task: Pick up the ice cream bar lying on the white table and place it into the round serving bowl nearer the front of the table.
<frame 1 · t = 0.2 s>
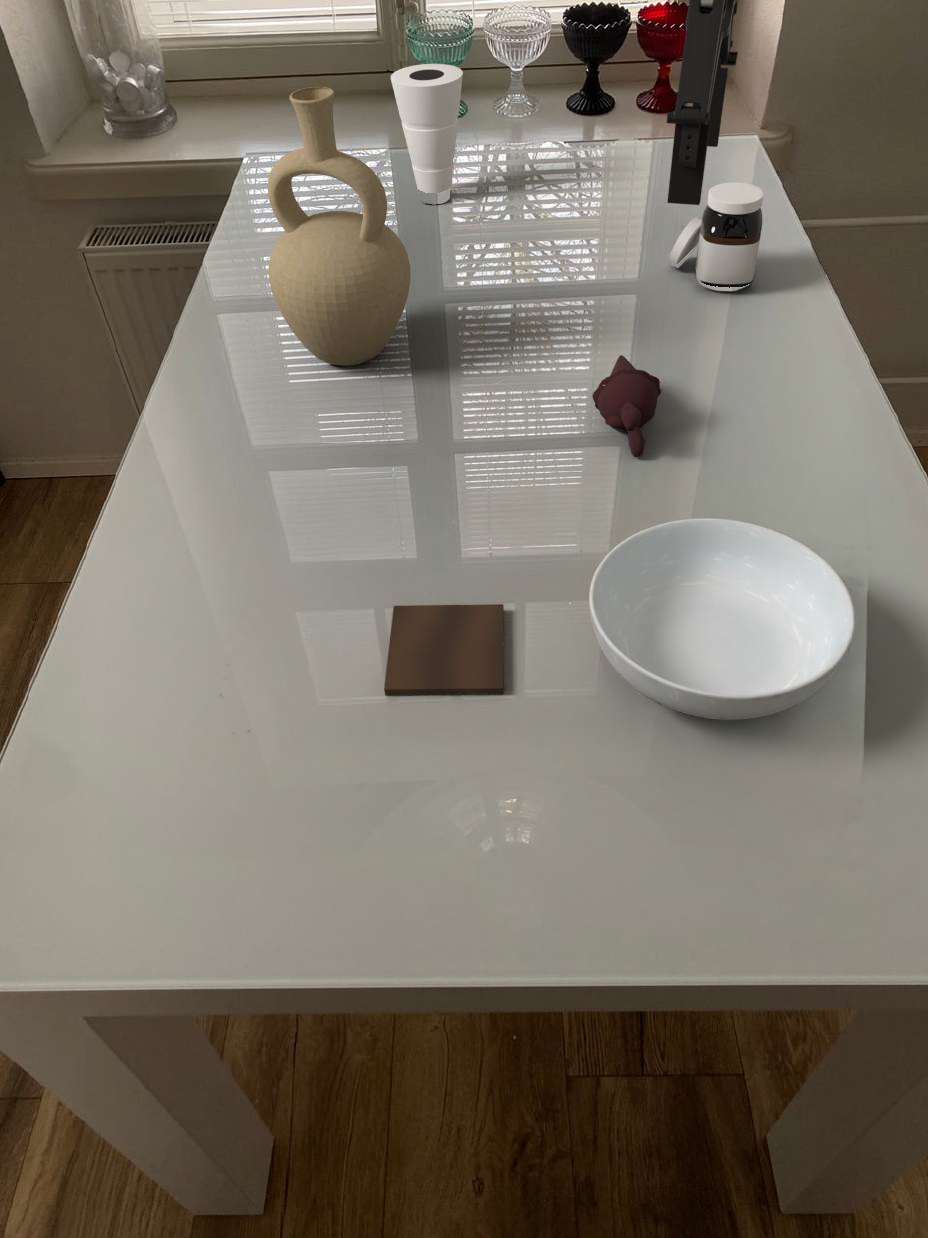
hand: (693, 172, 87), 27 cm above the table, tool pointing down, fingers open, 13 cm apart
spread jar: (708, 277, 130), on the table
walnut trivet: (446, 651, 84), on the table
vase: (352, 354, 121), on the table
serving bowl: (708, 657, 82), on the table
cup: (435, 199, 154), on the table
icecream: (624, 424, 107), on the table
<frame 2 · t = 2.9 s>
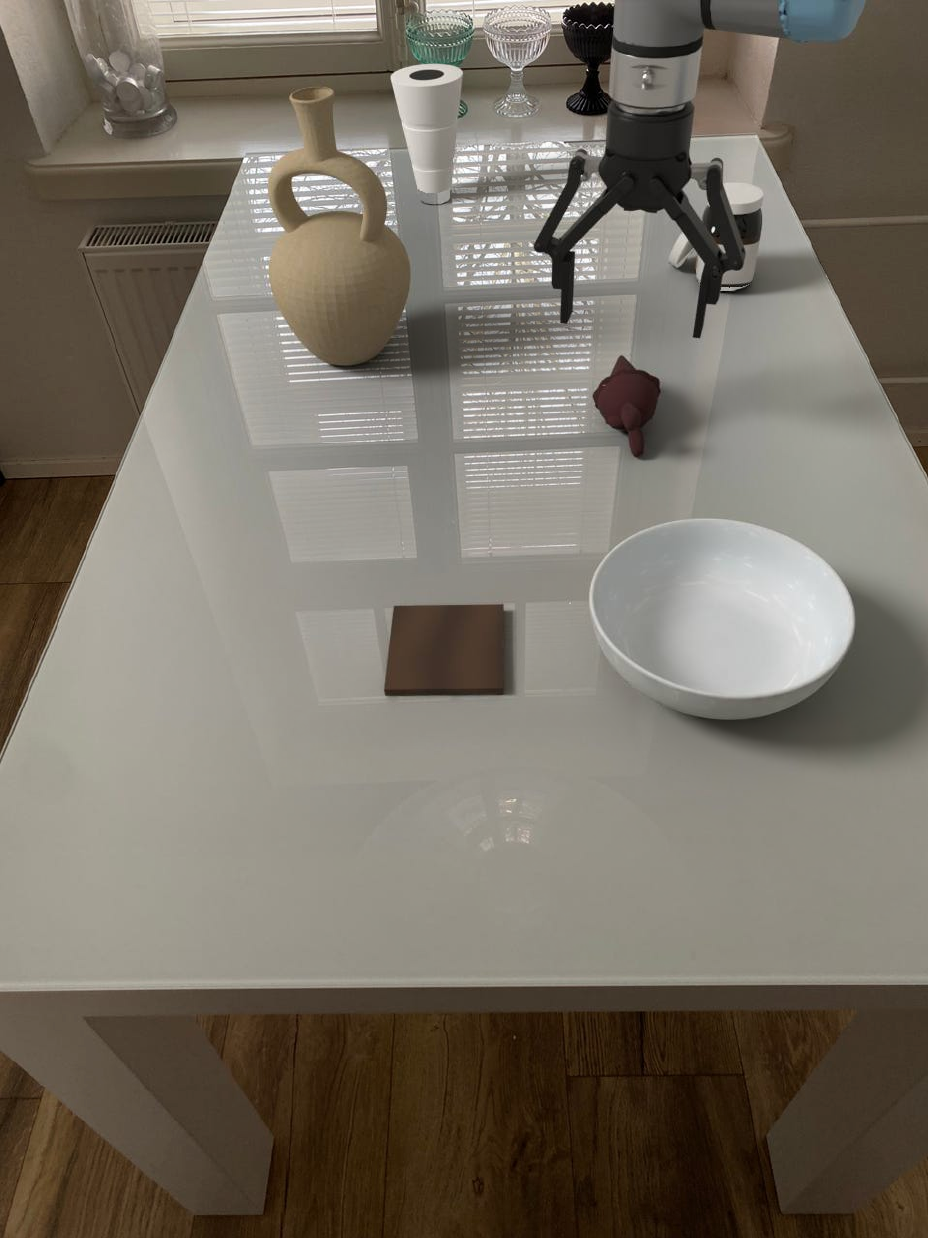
hand: (631, 324, 99), 12 cm above the table, tool pointing down, fingers open, 13 cm apart
nothing on the table moved.
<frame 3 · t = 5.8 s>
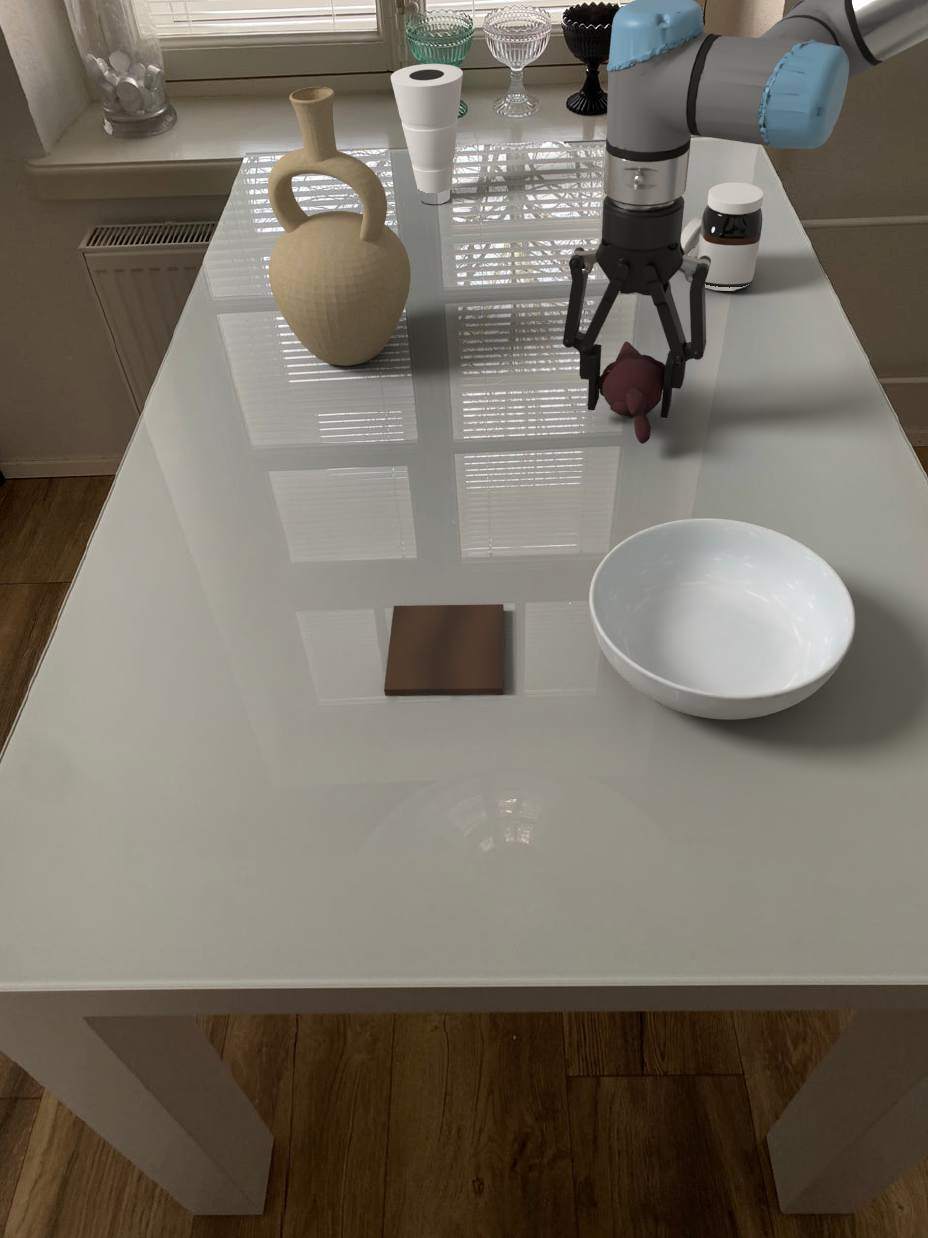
hand: (629, 407, 105), 2 cm above the table, tool pointing down, fingers closed on icecream, 7 cm apart
icecream: (630, 411, 106), point 2 cm above the table, touching gripper
everything else where it was.
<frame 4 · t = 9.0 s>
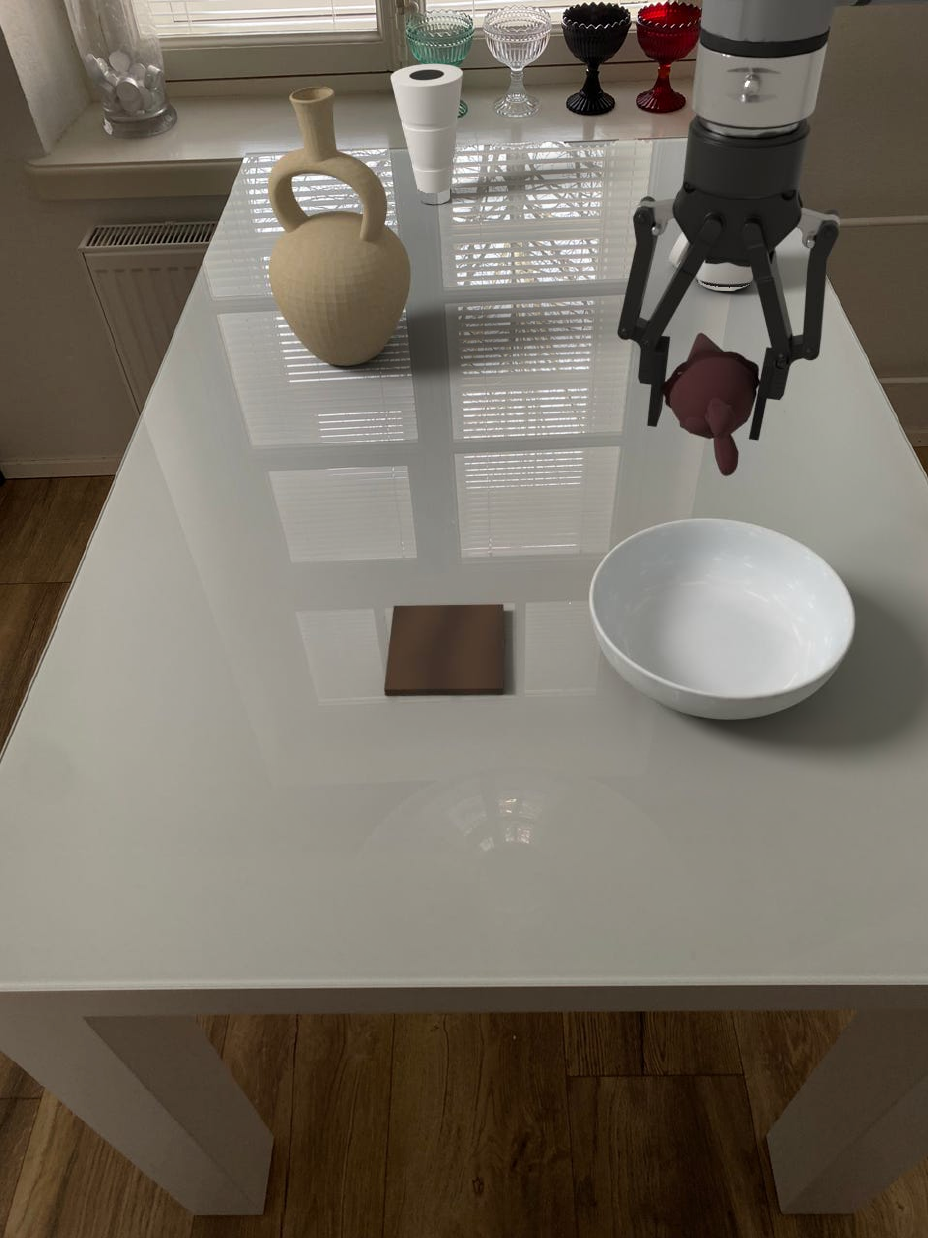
hand: (704, 423, 77), 17 cm above the table, tool pointing down, fingers closed on icecream, 7 cm apart
icecream: (705, 428, 77), point 17 cm above the table, touching gripper
everything else where it was.
when the fingers open (7 cm above the table, at t = 12.2 s): icecream stays where it is, point 7 cm above the table.
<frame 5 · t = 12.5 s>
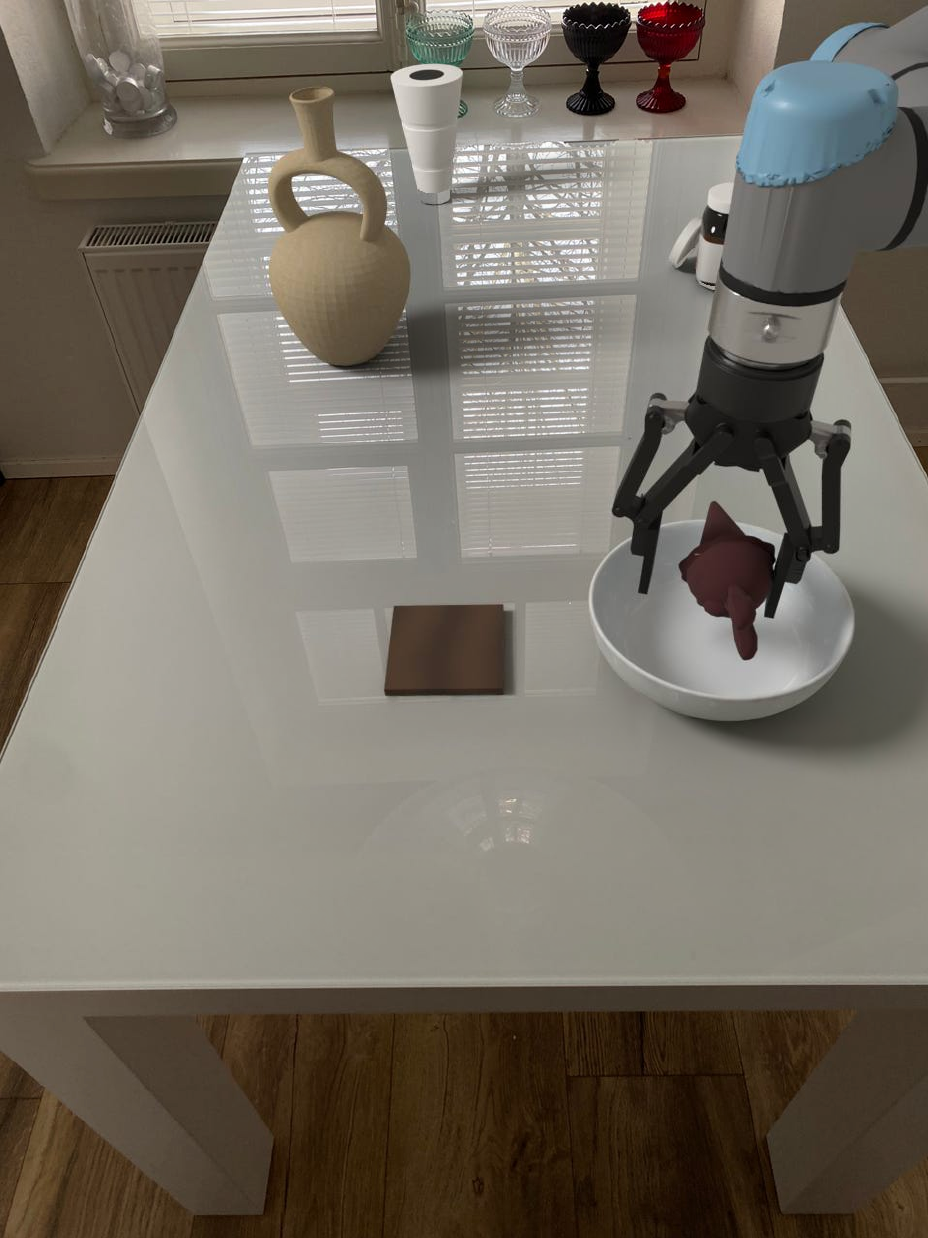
hand: (706, 594, 77), 7 cm above the table, tool pointing down, fingers open, 9 cm apart
serving bowl: (707, 658, 82), on the table, touching gripper
icecream: (721, 601, 77), point 7 cm above the table, touching gripper
everything else where it was.
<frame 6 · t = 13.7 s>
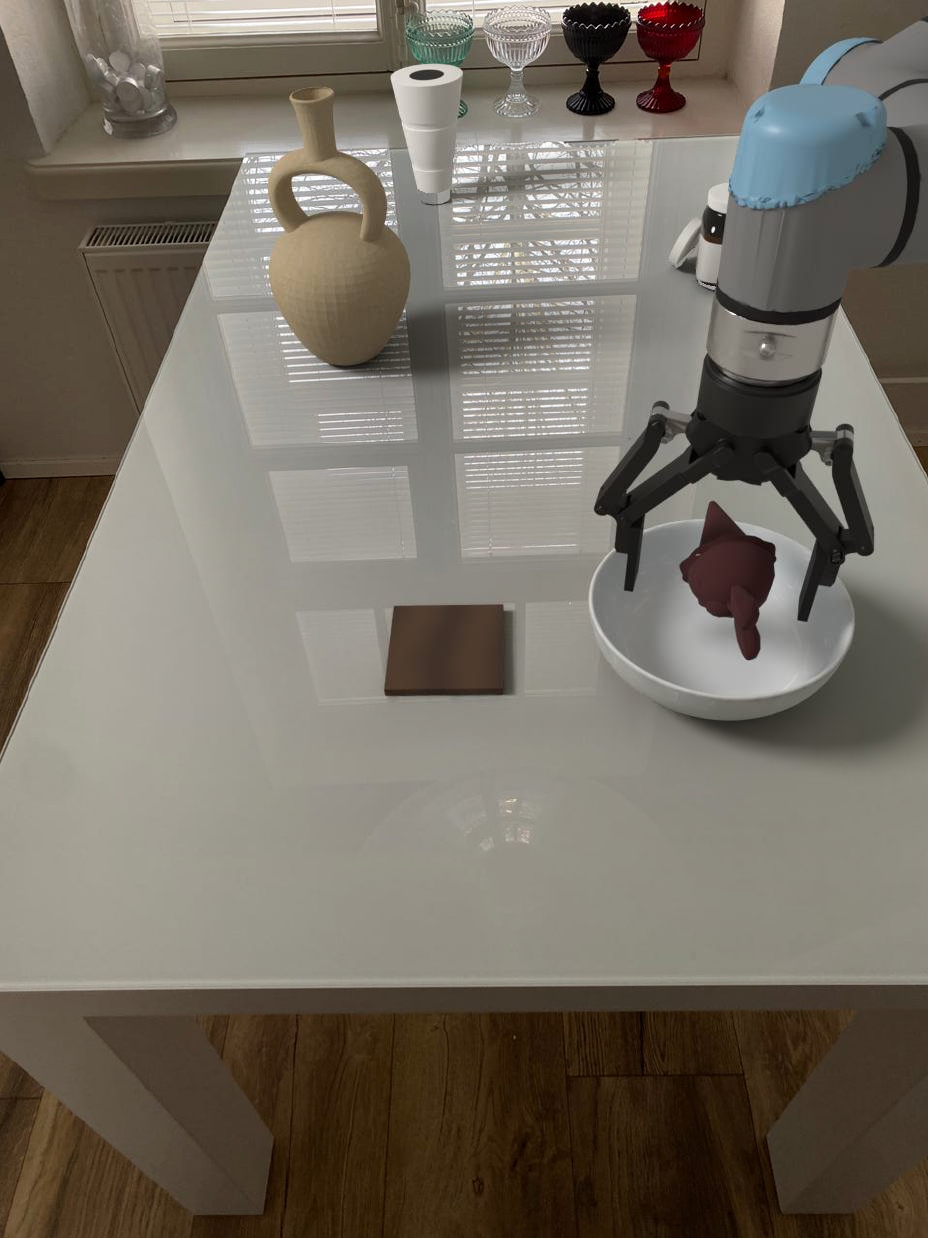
hand: (715, 595, 77), 7 cm above the table, tool pointing down, fingers open, 13 cm apart
serving bowl: (707, 657, 82), on the table, touching gripper, icecream
icecream: (722, 601, 77), point 7 cm above the table, touching serving bowl
everything else where it was.
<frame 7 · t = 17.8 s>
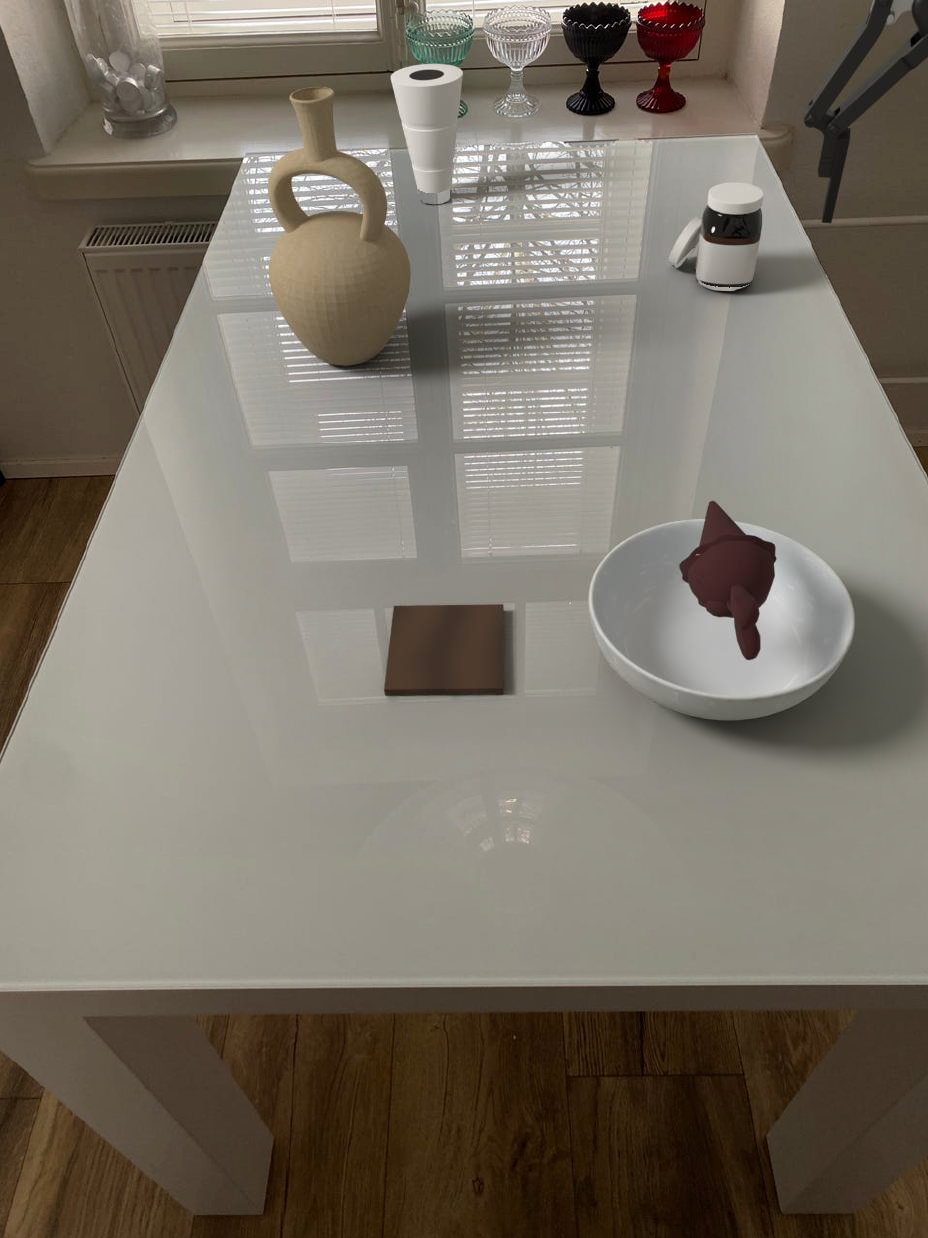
hand: (913, 222, 79), 27 cm above the table, tool pointing down, fingers open, 13 cm apart
serving bowl: (707, 657, 82), on the table, touching icecream
everything else where it was.
at the end: icecream inside the target area in the serving bowl (0.3 cm from its centre), point 6.9 cm above the serving bowl's base; the gripper is holding nothing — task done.
